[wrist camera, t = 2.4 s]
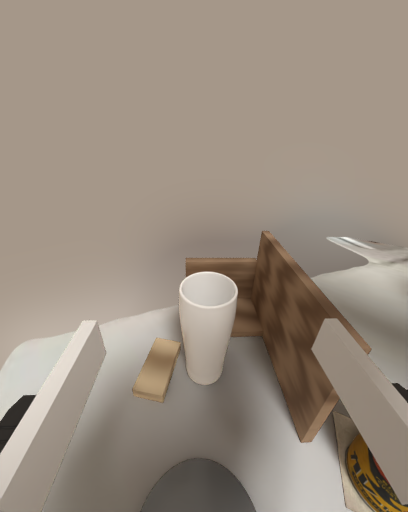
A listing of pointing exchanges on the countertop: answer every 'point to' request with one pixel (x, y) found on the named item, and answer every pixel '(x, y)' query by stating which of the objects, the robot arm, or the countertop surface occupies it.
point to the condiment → (362, 472)
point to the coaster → (198, 490)
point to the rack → (284, 325)
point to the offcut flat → (157, 370)
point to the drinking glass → (206, 323)
